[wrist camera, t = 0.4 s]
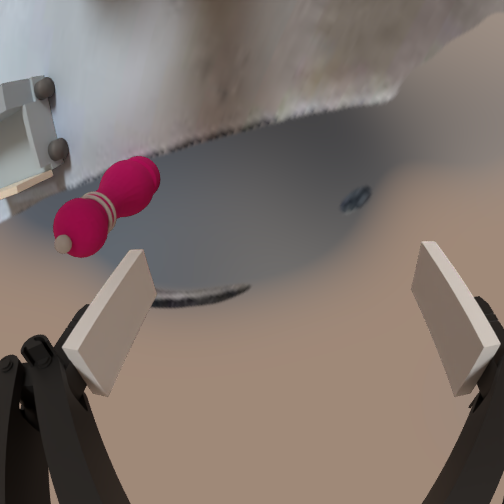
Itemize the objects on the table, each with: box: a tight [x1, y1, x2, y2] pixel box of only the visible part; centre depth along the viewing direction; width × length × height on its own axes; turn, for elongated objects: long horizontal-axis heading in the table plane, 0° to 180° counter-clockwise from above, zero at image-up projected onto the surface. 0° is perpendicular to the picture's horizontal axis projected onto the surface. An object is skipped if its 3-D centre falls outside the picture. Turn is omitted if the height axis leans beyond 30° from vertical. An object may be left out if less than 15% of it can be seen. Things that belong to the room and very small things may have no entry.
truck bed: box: [0, 75, 68, 189], centre depth 35 cm, size 15×20×9 cm
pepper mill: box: [53, 156, 160, 258], centre depth 33 cm, size 7×7×20 cm
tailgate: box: [0, 170, 53, 200], centre depth 36 cm, size 1×16×8 cm, turn 98°
